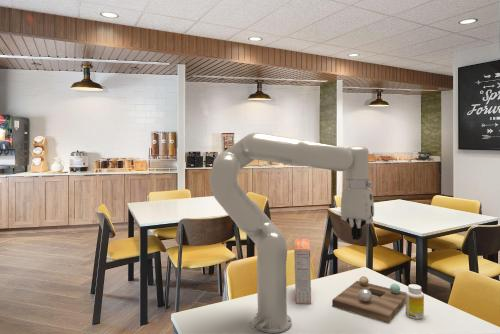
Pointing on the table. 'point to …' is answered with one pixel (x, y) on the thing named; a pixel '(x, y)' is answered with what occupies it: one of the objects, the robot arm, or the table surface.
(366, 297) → the steel ball
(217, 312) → the table surface
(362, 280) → the beech ball
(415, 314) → the supplement bottle
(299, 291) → the cracker box
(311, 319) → the table surface
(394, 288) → the teal ball
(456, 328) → the table surface
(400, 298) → the wooden board
